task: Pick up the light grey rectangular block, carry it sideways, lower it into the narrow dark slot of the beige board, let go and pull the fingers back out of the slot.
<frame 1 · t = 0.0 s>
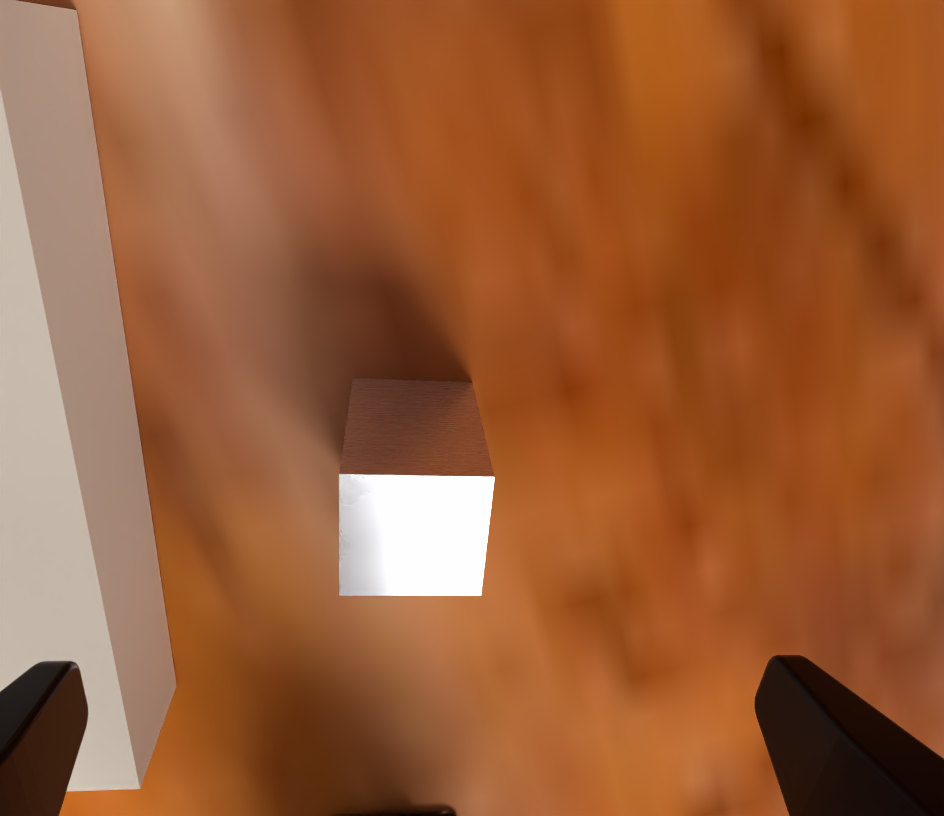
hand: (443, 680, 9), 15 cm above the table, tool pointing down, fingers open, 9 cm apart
light grey rectangular block: (410, 432, 24), on the table
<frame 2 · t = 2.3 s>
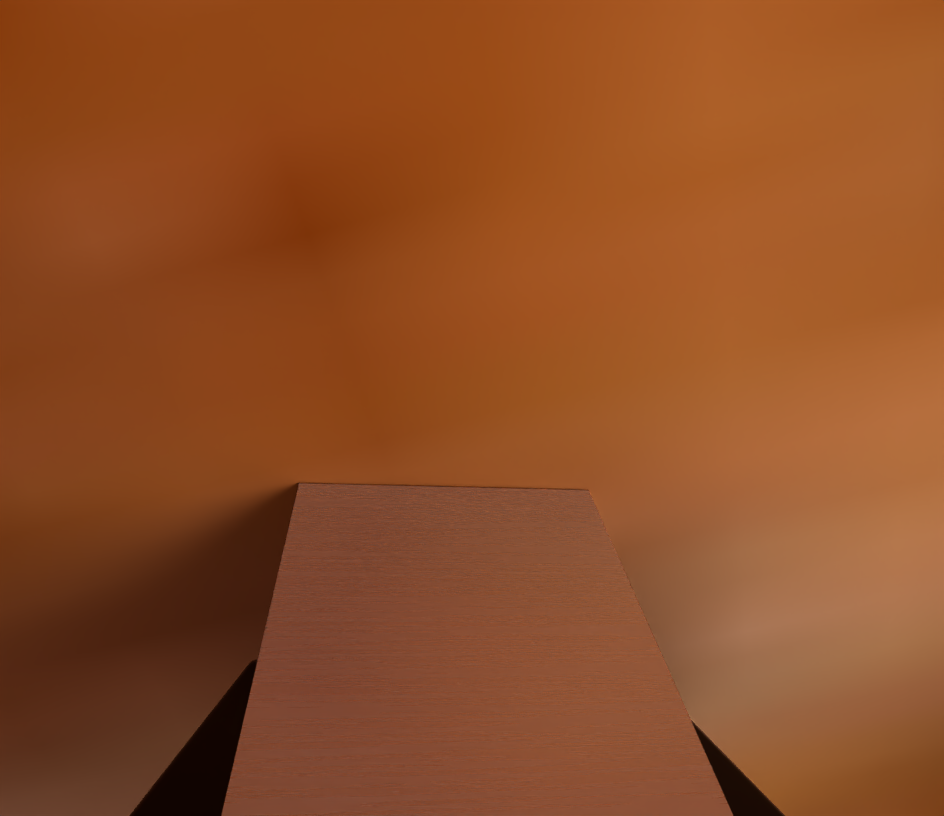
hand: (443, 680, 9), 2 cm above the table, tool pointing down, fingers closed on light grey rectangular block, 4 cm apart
light grey rectangular block: (437, 598, 10), on the table, touching gripper
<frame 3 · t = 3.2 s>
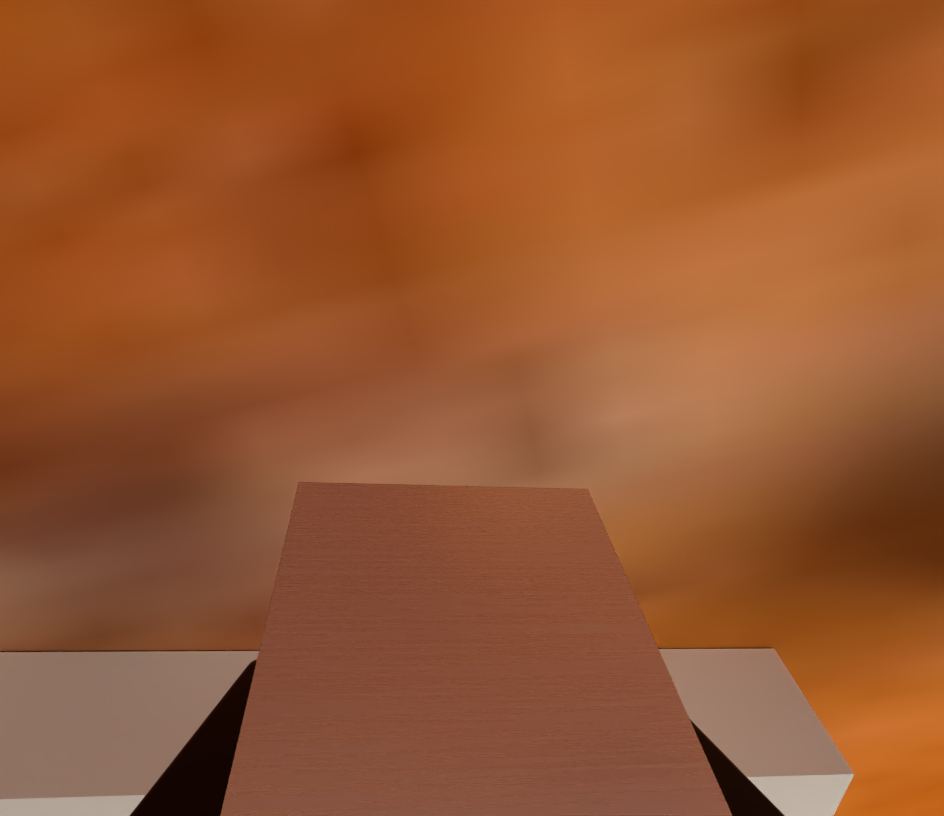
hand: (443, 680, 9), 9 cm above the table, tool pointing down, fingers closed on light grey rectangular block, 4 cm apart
light grey rectangular block: (437, 597, 10), point 8 cm above the table, touching gripper
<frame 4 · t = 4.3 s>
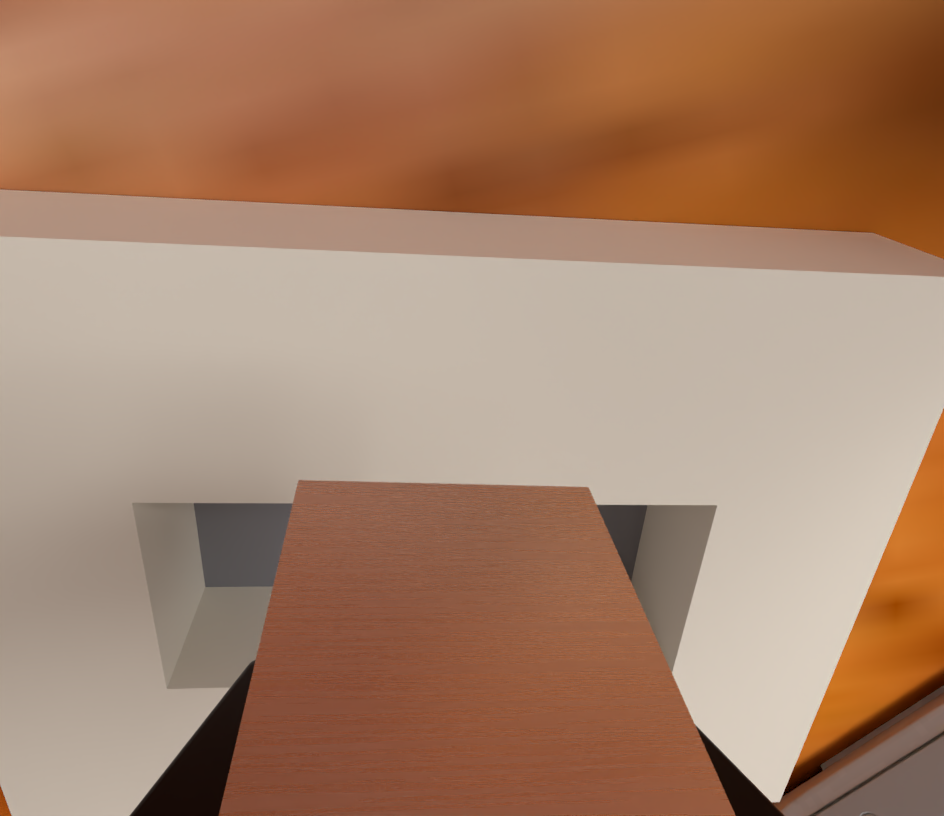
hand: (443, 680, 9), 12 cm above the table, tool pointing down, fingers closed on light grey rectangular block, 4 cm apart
slot board: (427, 500, 22), on the table
light grey rectangular block: (437, 596, 10), point 10 cm above the table, touching gripper
digital clock: (927, 724, 30), on the table
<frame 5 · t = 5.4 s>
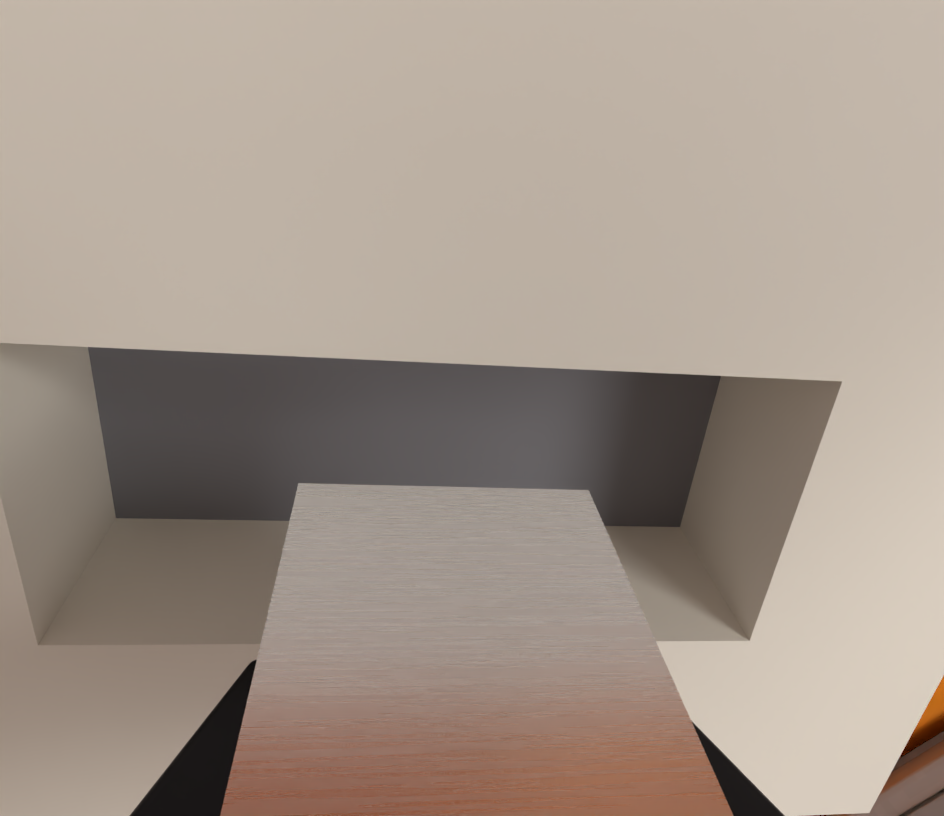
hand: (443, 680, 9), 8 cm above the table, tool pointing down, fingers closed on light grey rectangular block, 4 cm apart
slot board: (418, 406, 16), on the table
light grey rectangular block: (437, 598, 10), point 7 cm above the table, touching gripper
when the fingers open (3 cm above the table, at t = 6.5 s): light grey rectangular block drops 1 cm, resting on slot board.
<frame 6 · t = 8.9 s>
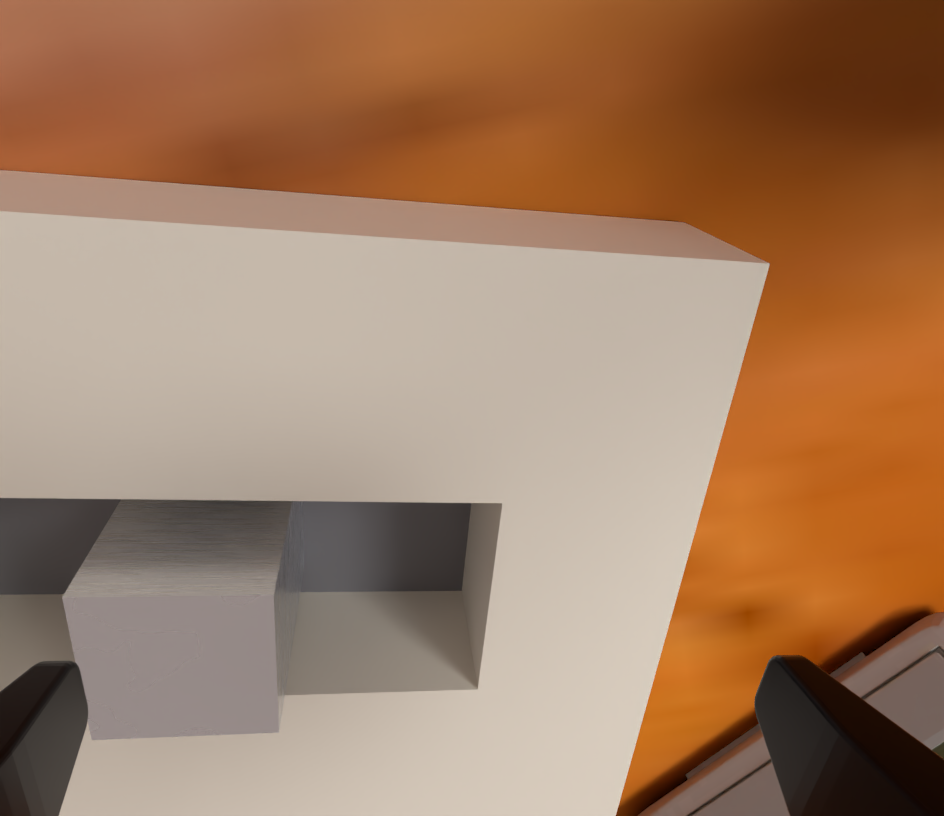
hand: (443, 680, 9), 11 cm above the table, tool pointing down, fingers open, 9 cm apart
slot board: (234, 501, 20), on the table
light grey rectangular block: (232, 510, 20), resting on slot board
digital clock: (793, 732, 29), on the table
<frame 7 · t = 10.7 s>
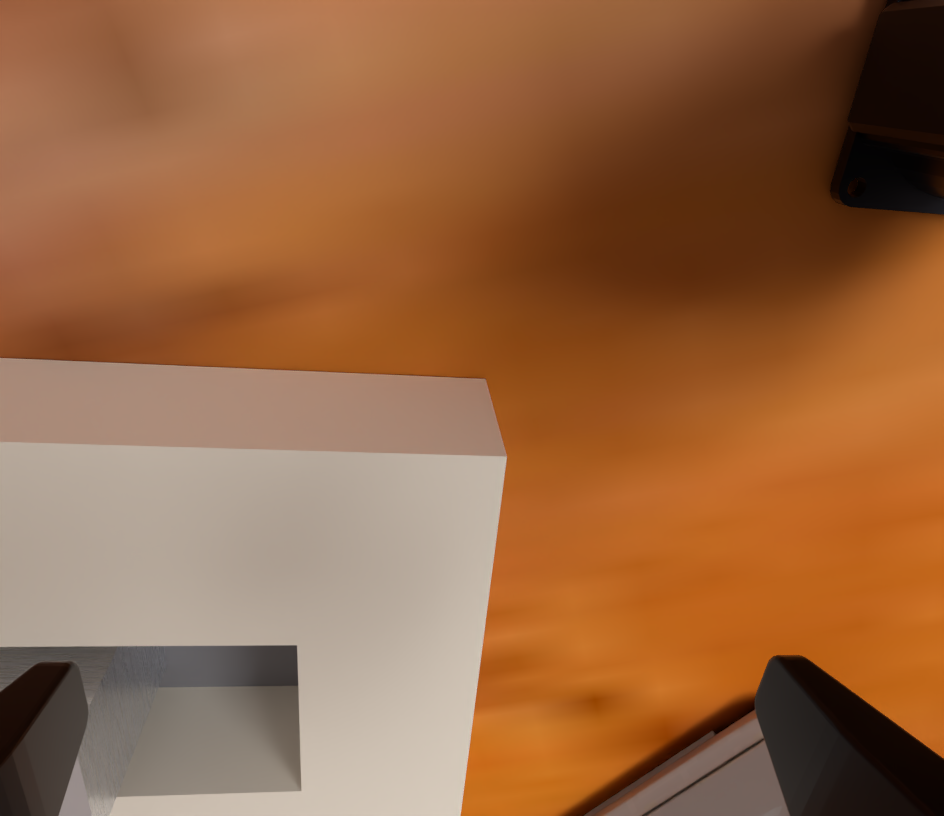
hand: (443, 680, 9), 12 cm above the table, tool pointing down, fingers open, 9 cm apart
slot board: (100, 611, 23), on the table
light grey rectangular block: (95, 621, 22), resting on slot board
digital clock: (657, 798, 31), on the table
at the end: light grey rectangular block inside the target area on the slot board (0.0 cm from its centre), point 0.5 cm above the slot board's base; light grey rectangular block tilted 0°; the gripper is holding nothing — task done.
